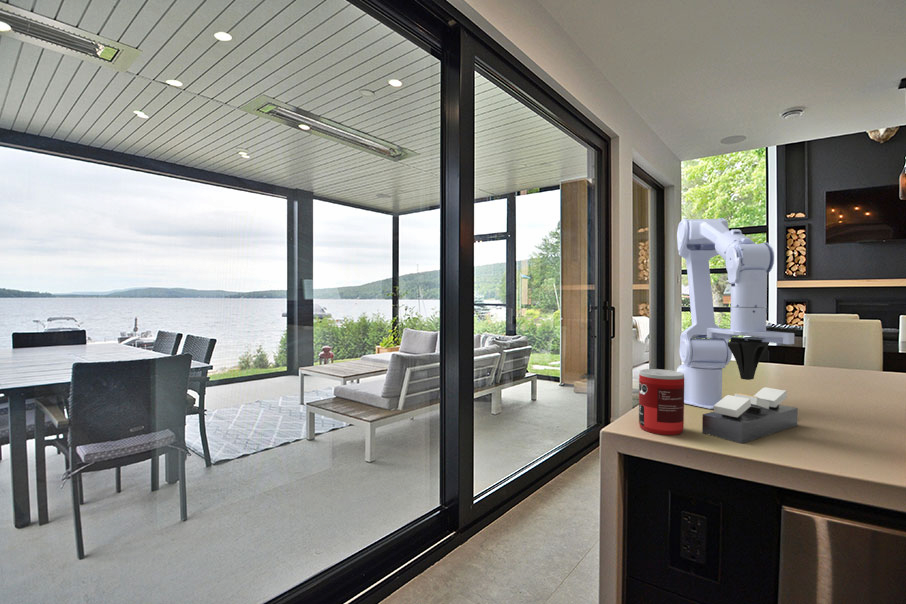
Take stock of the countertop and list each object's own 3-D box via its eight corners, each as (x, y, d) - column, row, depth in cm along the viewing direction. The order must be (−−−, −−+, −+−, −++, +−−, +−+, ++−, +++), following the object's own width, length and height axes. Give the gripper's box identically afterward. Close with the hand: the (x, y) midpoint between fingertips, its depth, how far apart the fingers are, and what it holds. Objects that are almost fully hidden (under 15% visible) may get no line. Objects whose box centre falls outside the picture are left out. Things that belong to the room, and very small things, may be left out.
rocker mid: (733, 400, 89) (734, 392, 89) (746, 404, 91) (747, 397, 92) (756, 404, 85) (757, 396, 86) (768, 409, 88) (769, 401, 88)
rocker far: (753, 403, 93) (752, 396, 92) (764, 393, 95) (764, 387, 95) (775, 407, 89) (774, 400, 89) (786, 397, 92) (786, 390, 92)
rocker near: (714, 412, 85) (713, 405, 85) (728, 401, 88) (727, 394, 88) (737, 417, 82) (736, 410, 82) (751, 406, 84) (750, 399, 84)
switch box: (702, 433, 86) (702, 410, 86) (772, 413, 100) (772, 393, 100) (741, 443, 80) (742, 418, 80) (810, 421, 94) (811, 400, 94)
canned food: (648, 421, 94) (648, 367, 94) (690, 429, 88) (690, 372, 88) (631, 429, 89) (632, 372, 88) (674, 438, 83) (675, 377, 83)
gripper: (698, 306, 91) (697, 375, 91) (781, 308, 79) (780, 387, 79) (718, 306, 95) (717, 371, 95) (800, 308, 83) (799, 383, 83)
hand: (747, 379), depth 87 cm, fingers closed
